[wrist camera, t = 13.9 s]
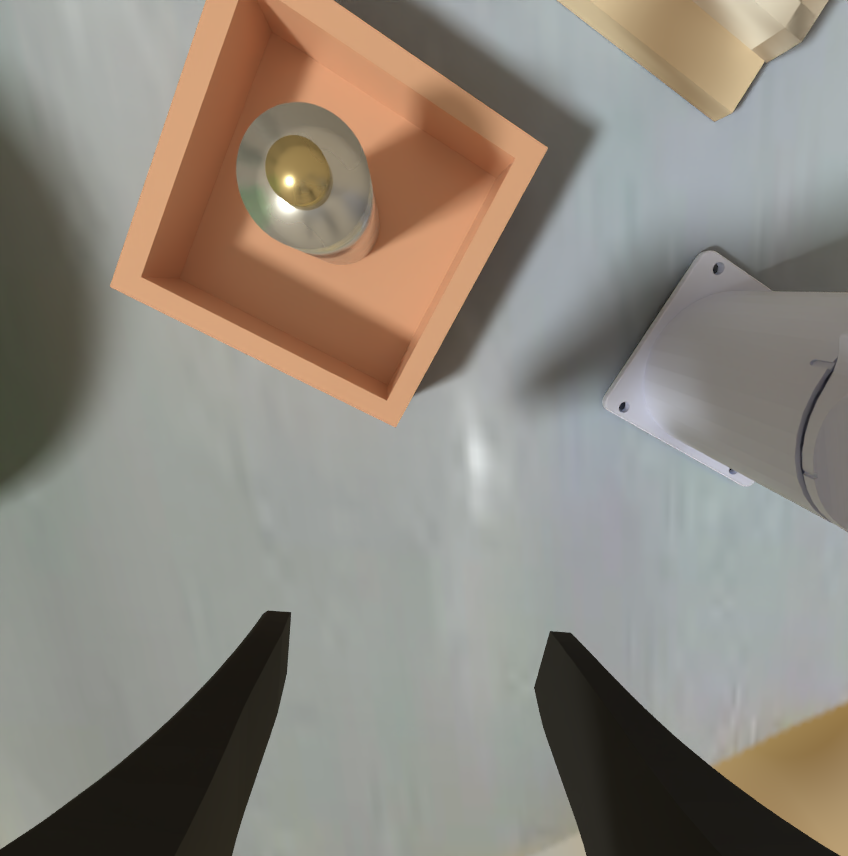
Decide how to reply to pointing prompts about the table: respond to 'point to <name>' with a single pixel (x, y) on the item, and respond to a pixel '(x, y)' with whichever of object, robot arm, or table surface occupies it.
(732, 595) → the table surface
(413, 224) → the dish
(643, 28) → the wooden board with compartments
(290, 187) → the cell
